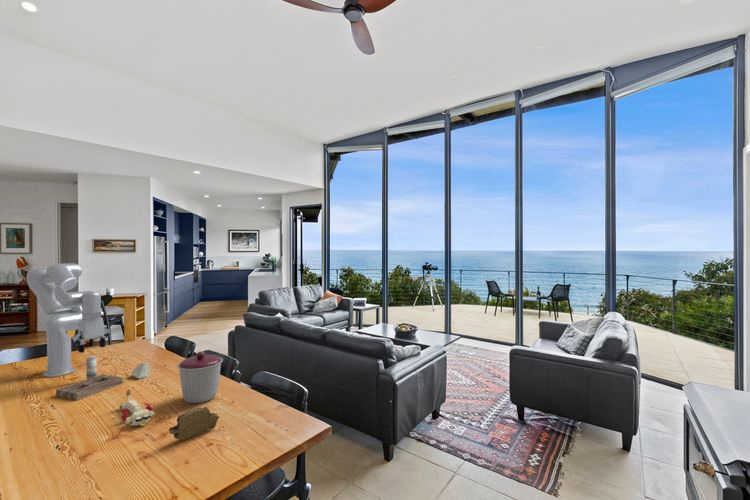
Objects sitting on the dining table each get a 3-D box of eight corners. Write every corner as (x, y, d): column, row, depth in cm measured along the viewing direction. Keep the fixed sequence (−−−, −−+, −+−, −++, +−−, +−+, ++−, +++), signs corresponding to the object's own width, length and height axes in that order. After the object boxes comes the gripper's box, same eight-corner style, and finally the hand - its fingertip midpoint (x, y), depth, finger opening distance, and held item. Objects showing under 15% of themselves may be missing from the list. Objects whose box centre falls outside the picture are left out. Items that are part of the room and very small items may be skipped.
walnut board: (56, 396, 155) (56, 389, 155) (102, 380, 174) (102, 374, 174) (77, 400, 151) (77, 393, 151) (122, 383, 170) (122, 377, 170)
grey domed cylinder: (84, 381, 172) (84, 357, 172) (93, 378, 176) (93, 355, 176) (90, 382, 171) (89, 358, 171) (98, 379, 175) (98, 356, 175)
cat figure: (113, 414, 141) (127, 431, 124) (112, 392, 141) (127, 406, 125) (141, 406, 148) (159, 421, 131) (141, 385, 149) (158, 398, 132)
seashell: (152, 367, 186) (154, 363, 181) (145, 383, 181) (146, 379, 176) (136, 363, 183) (137, 359, 178) (128, 379, 178) (128, 376, 173)
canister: (204, 409, 142) (204, 359, 142) (167, 405, 146) (167, 356, 146) (230, 392, 160) (230, 347, 160) (197, 388, 163) (197, 345, 163)
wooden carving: (214, 424, 130) (214, 398, 130) (220, 428, 127) (219, 402, 127) (166, 443, 117) (166, 414, 117) (171, 448, 114) (171, 419, 114)
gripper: (104, 312, 183) (104, 344, 183) (66, 319, 166) (67, 354, 166) (114, 313, 181) (114, 345, 181) (77, 319, 164) (78, 355, 164)
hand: (92, 349), depth 173 cm, fingers open, 9 cm apart
